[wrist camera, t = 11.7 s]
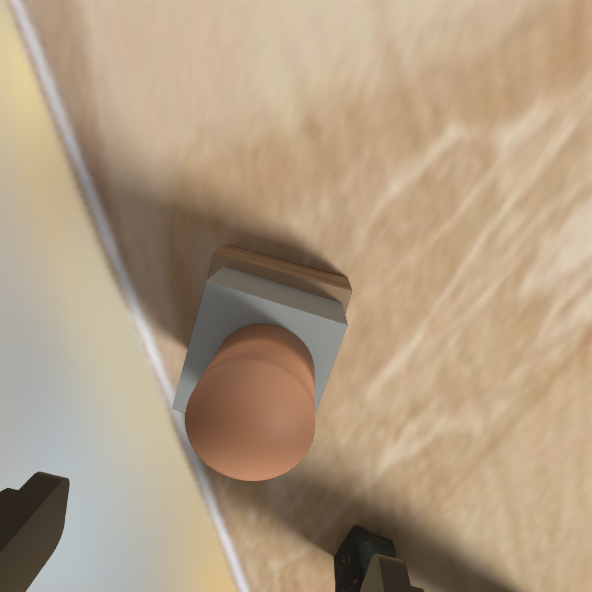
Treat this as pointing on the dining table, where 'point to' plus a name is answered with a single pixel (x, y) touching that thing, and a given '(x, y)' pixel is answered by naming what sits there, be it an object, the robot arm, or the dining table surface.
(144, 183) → the dining table surface
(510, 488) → the dining table surface
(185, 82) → the dining table surface
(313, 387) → the tan cylinder
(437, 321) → the dining table surface
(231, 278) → the tower top
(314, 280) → the tower base
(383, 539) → the ceramic cat
